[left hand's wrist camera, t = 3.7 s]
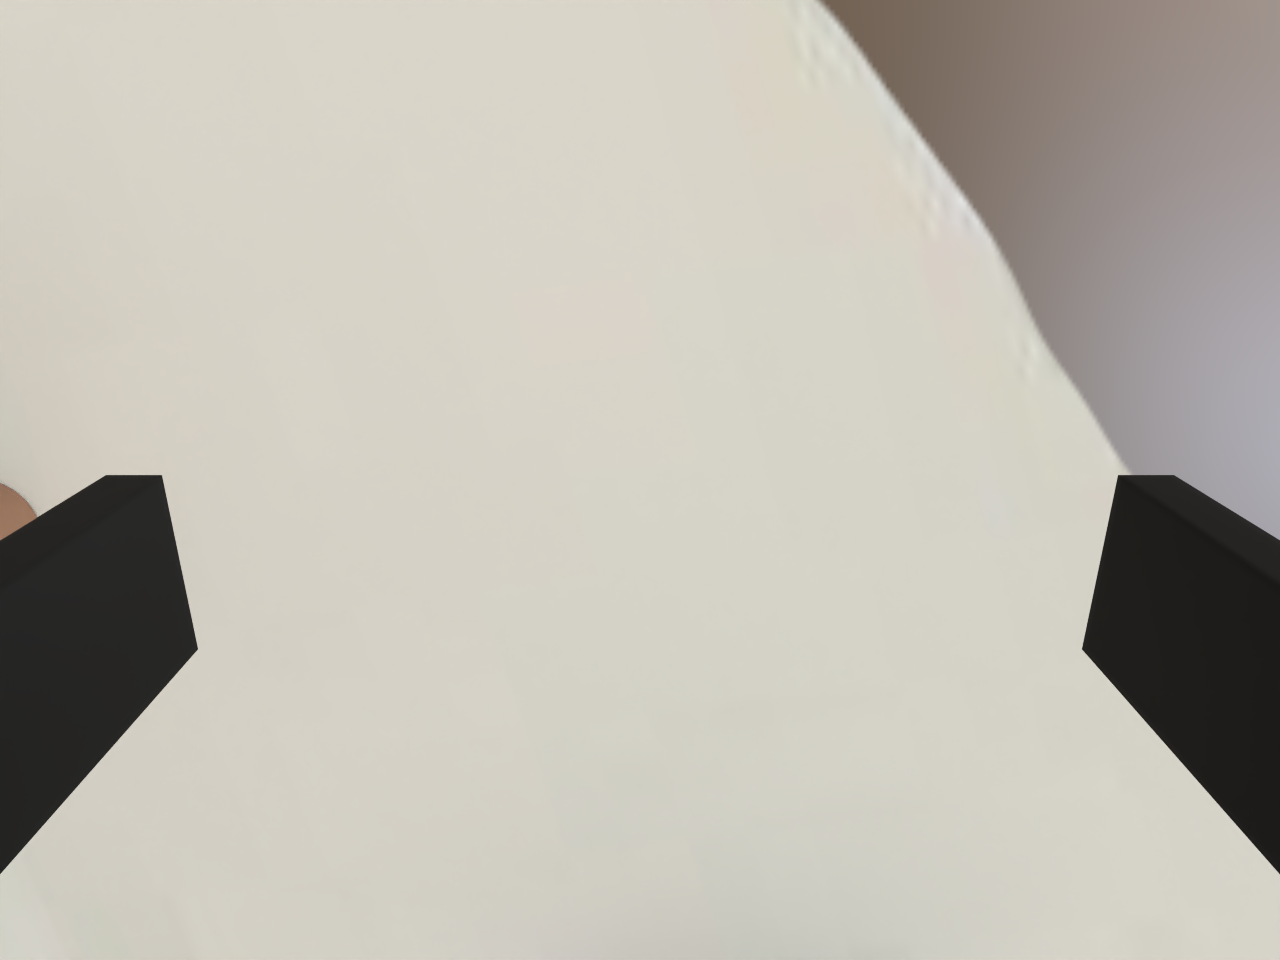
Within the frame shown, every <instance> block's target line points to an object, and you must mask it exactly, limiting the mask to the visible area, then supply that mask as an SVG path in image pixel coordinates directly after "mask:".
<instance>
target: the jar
mask: <svg viewBox="0 0 1280 960" xmlns="http://www.w3.org/2000/svg"><path fill="white" fill-rule="evenodd" d="M36 518H37V516H36V514H35V512H34V511H33V509H32V508H31V506H30V505H29V504H28V503H27V501H26V500H25V499H24V498H23V497H22V496H20V495H19V494H18V493H17V492H15V491H14V490H12V489H11V488H9V487H7V486H5V485H3V484H0V540H2V539H3V538H5V537H7V536H8V535H10V534H11V533H13V532H15V531H16V530H18V529H20V528H21V527H23V526H24V525H26V524H28V523H29V522H31V521H33V520H34V519H36Z"/></svg>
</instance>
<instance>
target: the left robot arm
mask: <svg viewBox="0 0 1280 960" xmlns="http://www.w3.org/2000/svg"><path fill="white" fill-rule="evenodd" d="M197 650H198V647H197V642H196V638H195V633H194V628H193V623H192V618H191V613H190V609H189V604H188V599H187V594H186V589H185V585H184V580H183V575H182V570H181V565H180V560H179V556H178V551H177V546H176V541H175V536H174V532H173V527H172V522H171V517H170V512H169V508H168V503H167V498H166V493H165V488H164V483H163V479H162V475H106V476H104V477H102V478H101V479H99V480H97V481H96V482H94V483H93V484H91V485H89V486H88V487H86V488H84V489H83V490H81V491H80V492H78V493H76V494H75V495H73V496H72V497H70V498H68V499H67V500H65V501H63V502H62V503H60V504H59V505H57V506H55V507H54V508H52V509H50V510H49V511H47V512H46V513H44V514H42V515H41V516H39V517H37V518H36V519H34V520H33V521H31V522H29V523H28V524H26V525H24V526H23V527H21V528H20V529H18V530H16V531H15V532H13V533H11V534H10V535H8V536H7V537H5V538H3V539H2V540H0V874H1V873H2V871H3V870H4V869H5V868H6V867H7V866H8V865H9V863H10V862H11V861H12V860H13V859H14V858H15V857H16V856H17V854H18V853H19V852H20V851H21V850H22V849H23V848H24V846H25V845H26V844H27V843H28V842H29V841H30V840H31V838H32V837H33V836H34V835H35V834H36V833H37V832H38V830H39V829H40V828H41V827H42V826H43V825H44V824H45V823H46V821H47V820H48V819H49V818H50V817H51V816H52V815H53V813H54V812H55V811H56V810H57V809H58V808H59V807H60V805H61V804H62V803H63V802H64V801H65V800H66V799H67V798H68V796H69V795H70V794H71V793H72V792H73V791H74V790H75V788H76V787H77V786H78V785H79V784H80V783H81V782H82V780H83V779H84V778H85V777H86V776H87V775H88V774H89V772H90V771H91V770H92V769H93V768H94V767H95V766H96V765H97V763H98V762H99V761H100V760H101V759H102V758H103V757H104V755H105V754H106V753H107V752H108V751H109V750H110V749H111V747H112V746H113V745H114V744H115V743H116V742H117V741H118V739H119V738H120V737H121V736H122V735H123V734H124V733H125V732H126V730H127V729H128V728H129V727H130V726H131V725H132V724H133V722H134V721H135V720H136V719H137V718H138V717H139V716H140V714H141V713H142V712H143V711H144V710H145V709H146V708H147V707H148V705H149V704H150V703H151V702H152V701H153V700H154V699H155V697H156V696H157V695H158V694H159V693H160V692H161V691H162V689H163V688H164V687H165V686H166V685H167V684H168V683H169V681H170V680H171V679H172V678H173V677H174V676H175V675H176V674H177V672H178V671H179V670H180V669H181V668H182V667H183V666H184V664H185V663H186V662H187V661H188V660H189V659H190V658H191V656H192V655H193V654H194V653H195V652H196V651H197ZM1082 650H1083V651H1084V652H1085V653H1086V654H1087V655H1088V656H1089V658H1090V659H1091V660H1092V661H1093V662H1094V663H1095V664H1096V666H1097V667H1098V668H1099V669H1100V670H1101V671H1102V672H1103V674H1104V675H1105V676H1106V677H1107V678H1108V679H1109V680H1110V681H1111V683H1112V684H1113V685H1114V686H1115V687H1116V688H1117V689H1118V691H1119V692H1120V693H1121V694H1122V695H1123V696H1124V697H1125V699H1126V700H1127V701H1128V702H1129V703H1130V704H1131V705H1132V707H1133V708H1134V709H1135V710H1136V711H1137V712H1138V713H1139V714H1140V716H1141V717H1142V718H1143V719H1144V720H1145V721H1146V722H1147V724H1148V725H1149V726H1150V727H1151V728H1152V729H1153V730H1154V732H1155V733H1156V734H1157V735H1158V736H1159V737H1160V738H1161V739H1162V741H1163V742H1164V743H1165V744H1166V745H1167V746H1168V747H1169V749H1170V750H1171V751H1172V752H1173V753H1174V754H1175V755H1176V757H1177V758H1178V759H1179V760H1180V761H1181V762H1182V763H1183V765H1184V766H1185V767H1186V768H1187V769H1188V770H1189V771H1190V772H1191V774H1192V775H1193V776H1194V777H1195V778H1196V779H1197V780H1198V782H1199V783H1200V784H1201V785H1202V786H1203V787H1204V788H1205V790H1206V791H1207V792H1208V793H1209V794H1210V795H1211V796H1212V798H1213V799H1214V800H1215V801H1216V802H1217V803H1218V804H1219V805H1220V807H1221V808H1222V809H1223V810H1224V811H1225V812H1226V813H1227V815H1228V816H1229V817H1230V818H1231V819H1232V820H1233V821H1234V823H1235V824H1236V825H1237V826H1238V827H1239V828H1240V829H1241V830H1242V832H1243V833H1244V834H1245V835H1246V836H1247V837H1248V838H1249V840H1250V841H1251V842H1252V843H1253V844H1254V845H1255V846H1256V848H1257V849H1258V850H1259V851H1260V852H1261V853H1262V854H1263V856H1264V857H1265V858H1266V859H1267V860H1268V861H1269V862H1270V863H1271V865H1272V866H1273V867H1274V868H1275V869H1276V870H1277V871H1278V873H1279V874H1280V540H1278V539H1277V538H1275V537H1273V536H1272V535H1270V534H1269V533H1267V532H1265V531H1264V530H1262V529H1260V528H1259V527H1257V526H1256V525H1254V524H1252V523H1251V522H1249V521H1247V520H1246V519H1244V518H1243V517H1241V516H1239V515H1238V514H1236V513H1234V512H1233V511H1231V510H1230V509H1228V508H1226V507H1225V506H1223V505H1221V504H1220V503H1218V502H1217V501H1215V500H1213V499H1212V498H1210V497H1208V496H1207V495H1205V494H1204V493H1202V492H1200V491H1199V490H1197V489H1195V488H1194V487H1192V486H1191V485H1189V484H1187V483H1186V482H1184V481H1182V480H1181V479H1179V478H1178V477H1176V476H1174V475H1118V479H1117V483H1116V488H1115V493H1114V498H1113V503H1112V508H1111V512H1110V517H1109V522H1108V527H1107V532H1106V536H1105V541H1104V546H1103V551H1102V556H1101V560H1100V565H1099V570H1098V575H1097V580H1096V585H1095V589H1094V594H1093V599H1092V604H1091V609H1090V613H1089V618H1088V623H1087V628H1086V633H1085V638H1084V642H1083V647H1082Z"/></svg>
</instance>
